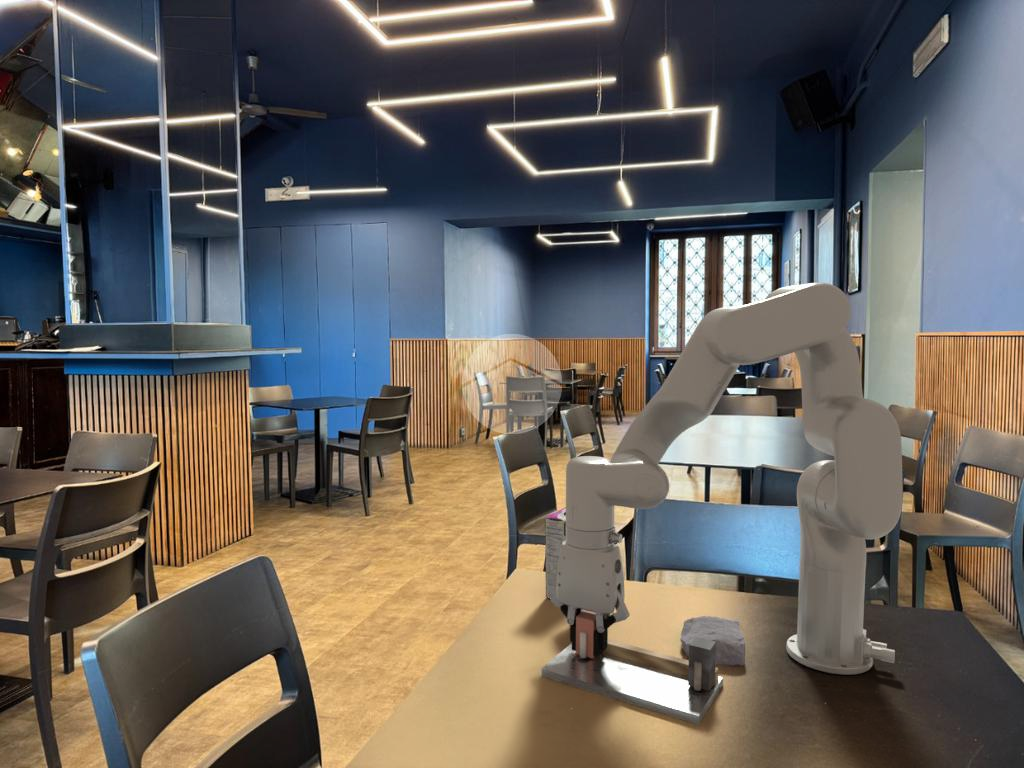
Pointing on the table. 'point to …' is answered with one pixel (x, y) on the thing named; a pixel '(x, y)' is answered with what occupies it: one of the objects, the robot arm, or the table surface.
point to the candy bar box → (553, 547)
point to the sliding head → (585, 633)
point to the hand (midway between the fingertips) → (588, 649)
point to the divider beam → (676, 660)
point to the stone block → (716, 638)
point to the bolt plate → (633, 683)
